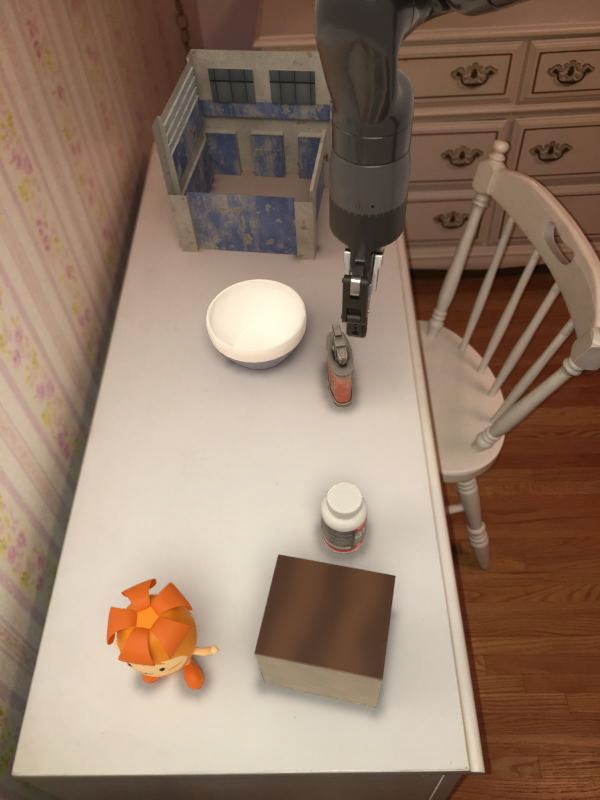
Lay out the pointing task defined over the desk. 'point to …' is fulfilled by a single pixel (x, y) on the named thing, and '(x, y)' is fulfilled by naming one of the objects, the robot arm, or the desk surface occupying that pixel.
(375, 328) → the desk surface
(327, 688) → the block
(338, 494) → the pill bottle
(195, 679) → the toy figure
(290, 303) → the bowl
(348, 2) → the robot arm
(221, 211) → the building
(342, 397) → the lighter
